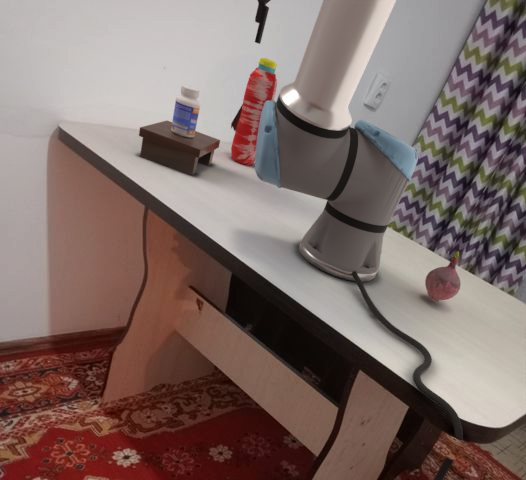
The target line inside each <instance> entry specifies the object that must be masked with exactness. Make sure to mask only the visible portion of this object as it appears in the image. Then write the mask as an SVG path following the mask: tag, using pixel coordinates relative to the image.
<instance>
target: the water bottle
mask: <svg viewBox="0 0 526 480" xmlns="http://www.w3.org/2000/svg"><path fill="white" fill-rule="evenodd" d="M277 66H278V63H276V62H275V61H274V60H273V59H269V58H267V57H260V58H259V60H258V67H255V69H254V70H253V71H252V72H251V73H250V74H249V77H248V81H247V83H246V88H245V91H244V95H243V99H242V103H241V106H240V107H239V109H238V111H237V113H236V115H235V116H234V118H233V120H232V122H231V123H230V129H233V131H234V135H233V139H232V142H231V147H230V149H231V150H230V152H231V153H230V154H231V158H232V160H233V161H235V162H236V163H238V164H241V165H245V166H252V165H253V164H255V153H256V144H257V136H258V129H259V123H260V118H261V113H262V109H263V107H264V103H265V102H266V101H268V100H269V101H271V100H274V101H275V96H276V91H277V87H278V79H277V74H276V70H277Z"/></svg>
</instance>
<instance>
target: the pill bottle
mask: <svg viewBox="0 0 526 480" xmlns="http://www.w3.org/2000/svg"><path fill="white" fill-rule="evenodd" d="M199 97H200V89H198V88H196V87H193V86H191V85H186V84H181V86H180V94H179V95H176V98H175V104H174V110H173V116H172V121H171V122H172V127H171V131H172V132H174V133H175V134H178V135H180V136H183V137H189V138H192V137H194V134H195V131H197V130H196V129H197V125H198V119H199V115H200V108H201V103H200V101H199V100H198V98H199Z"/></svg>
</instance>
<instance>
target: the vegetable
mask: <svg viewBox="0 0 526 480" xmlns="http://www.w3.org/2000/svg"><path fill="white" fill-rule="evenodd" d="M459 256H460V252H459V251H455V253H454V254H453V255H452V258H451V260H450V262H449V263H448V265H446V266H438V267H436V268H434V269H432V270H430V271H429V272H428V273H427V275H426V277H425V280H424V281H425V283H424V285H425V289H426V293H427V295H428V297H429V299H430V300H431V301H433V302H439V301H446V300H450V299H452V298H454V297H455V296H456V295H458V293H459V291H460V289H461V285H462V284H461V283H462V282H461V279H460V276H459V274H458V272H457V269H456V268H457V267H456V266H457V263H458V260H459Z"/></svg>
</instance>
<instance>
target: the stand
mask: <svg viewBox="0 0 526 480" xmlns="http://www.w3.org/2000/svg"><path fill="white" fill-rule="evenodd" d="M171 127H172V121H169V120H163V121H160V122H156V123H152V124H148V125H144V126H140V127H139V131H138V136H139V137H141V138H142V141H141V148H140V155H139V157H141V158H142V159H143V158H144V159H146V160H149V161H151V162H155V163H156V164H159V165H162V166H164V167H167V168H169V169H173V170H175V171H178V172H181V173H184V174H186V175H189V176H194V175H195V174H196V172H197V168H198V163H201V164H203V165H206V166H210V165H211V164H212V163H213V158H214V154H215V150H217V149H218V148H220V143H221V139H219V138H216V137H212V136H210V135H209V134H208V135H207V134H205V133H203V132H199V131H197V130H195V134H194V137H192V138H189V137H183V136H180V135H178V134H175V133H174V132H172V131H171Z"/></svg>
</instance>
